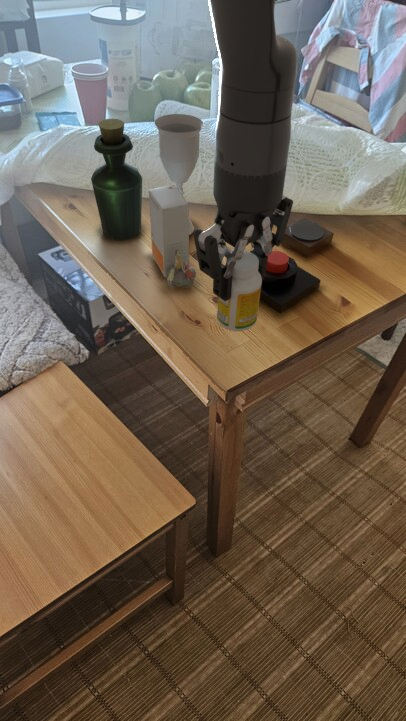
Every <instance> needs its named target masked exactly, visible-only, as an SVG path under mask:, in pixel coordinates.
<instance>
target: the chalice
mask: <svg viewBox="0 0 406 721" xmlns="http://www.w3.org/2000/svg"><path fill="white" fill-rule="evenodd" d="M154 125H155V127H156V129H157V131H158V134H157V135H158V156H159V159H160V161H161V164H162V167H163V168H164V170H165V172H166V174H167V176H168V178H169V180H170V181H171V182H172V183H174V184H175V187H176V188H177V189H178V190H179V192H181V194H182V195H183V196H184V195H185V192H184V189H183V184H184V183H187V182H188V181H189V180H190V178H191V176H192V174H193V172H194V170H195V169H196V167H197V163H198V160H199V158H200V132H201V130H202V129H203V127H204V121H203V120H202V119H201V118H199V117H197V116H195V115H194V116H193V115H190V114H184V113H171V114H165V115H162V116H161V115H160V117H157V118H156V119H155V120H154ZM194 232H195V227H194V225H193V223H192V220H191V218H190V217H189V236H190V235H192V234H194Z"/></svg>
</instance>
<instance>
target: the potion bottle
mask: <svg viewBox="0 0 406 721" xmlns="http://www.w3.org/2000/svg"><path fill="white" fill-rule="evenodd" d="M97 124H98V128H99V131H100V134H99V135H98V136H96V138H95V139H94V143H93V144H94V145H93V148H94V151H96V152H97V153H98V154H102V157H103V159H104V162H105V163H103V164H101V165H99V166H98V167H96V168H95V169H94V171H93V173H92V176H91V177H90V181H91V185H92V190H93V194H94V198H95V202H96V208H97V211H98V214H99V220H100V224H101V229H102V232H103V234H104V235H105V236H106V237H108V238H109V239H112V240H116V241H127V240H130V239H133V238H135V237H136V236H137V235H138V234H139V233H140V232H141V230H142V208H143V206H142V205H143V176H142V173H141V172H140V171H139V169H138V168H137V167H135V165H133V164H130V163H128V162H126V158H127V157H126V156H127V153H129V152H131V151H132V150H133V148H134V145H133V143H132V140H131V137H130V136H129V135H127V133H124V131H125V122H124V120H122V119H119V118H106V119H102V120H100V121H98V123H97Z"/></svg>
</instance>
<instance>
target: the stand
mask: <svg viewBox="0 0 406 721" xmlns="http://www.w3.org/2000/svg"><path fill="white" fill-rule="evenodd" d="M334 235H335V233H334V232H333V231H331V230H329V229H327V228H325V227H324V226H321V225H320V224H318V223H316V222H314V221H312V220H310V219H308V218H306V217H302V218H301V219H298V220H297V221H295V222H293V223H291V224H289V225H287V227H286V230H285V234H284V238H283V241H282V243H281V245H283V246H285V247H286V248H289V249H290V250H291V251H292V252H293V251H294V252H295V253H297V254H299V255H301V256H302V257H304V258H306V259H309V258H310V257H312V256H314V255H315V254H317V253H318V252H320V251H322V250H324V249H325V248H327V247H329V246H330V245H332V242H333V239H334Z"/></svg>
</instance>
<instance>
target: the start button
mask: <svg viewBox="0 0 406 721" xmlns="http://www.w3.org/2000/svg"><path fill="white" fill-rule="evenodd" d="M288 256H289V255H288V254H287V253H285V252H283V251H280V250H272V253H271V254H270V255H269V256H268V261H267V269H266V271H268V272H270V273H275V274H279V273H284V272H286V271H287V268H288V262H289V257H290V256H289V257H288Z"/></svg>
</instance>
